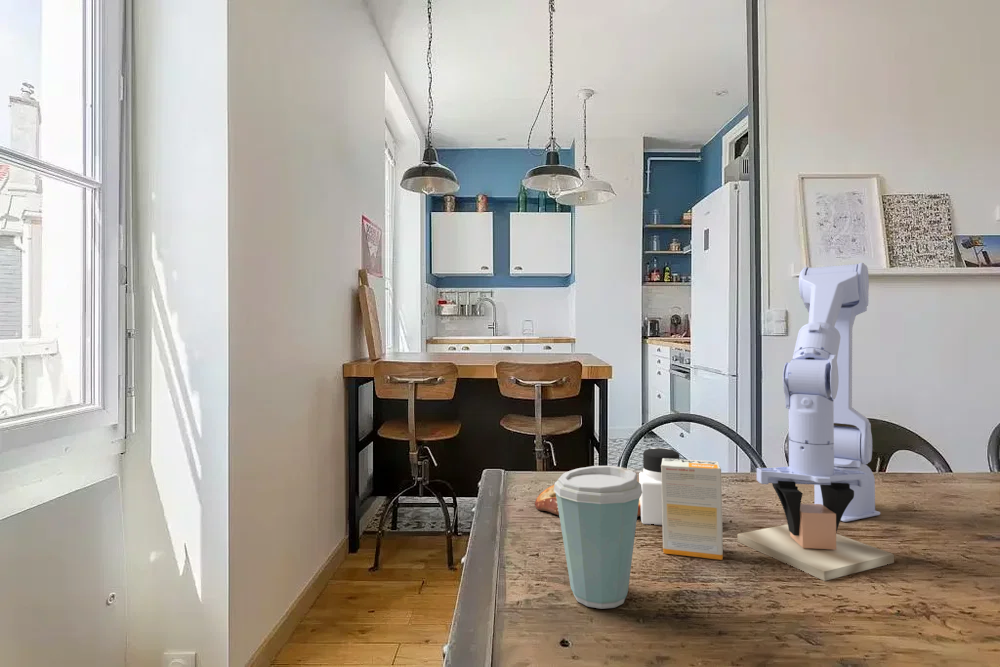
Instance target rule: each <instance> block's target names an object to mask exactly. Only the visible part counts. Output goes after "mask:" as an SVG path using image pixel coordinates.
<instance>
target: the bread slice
mask: <svg viewBox="0 0 1000 667" xmlns="http://www.w3.org/2000/svg"><path fill="white" fill-rule="evenodd" d="M553 490H554V484H552V485H550V486H549V487H547V488H545V489H544V490H543V491H542V492H541V493H539V495H538V496H537V497H536V499H535V502H534V507H535V508H536V509H537V510H538V511H545V512H548V513H551V514H554V515H557V516H559V511H558V505H557V498H556V493H555V492H554V491H553ZM638 517H641V506H640V500H639V505H638V513H637V518H638Z"/></svg>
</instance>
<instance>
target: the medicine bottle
mask: <svg viewBox="0 0 1000 667" xmlns="http://www.w3.org/2000/svg"><path fill="white" fill-rule="evenodd" d="M642 453H643V454H642V455H643V458H642V459H643V460H642V463H643V464H642V465H643V469H642V470H643V471H640V472H639V473H638V482H639V483H640V484H641V488H642V494H641V497H640V498H639V500H640V506H641V516H640V520H641V523H642V524H643V525H651V524H654V525H655V526H662V478H661V464H662V459H663V458H668V459H680V454H679V452H678V451H676V450H674V449H673V448H668V447H667V448H666V447H650V448H648V449H645V450H644V451H643V452H642ZM654 525H653V526H654Z"/></svg>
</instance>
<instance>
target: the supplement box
mask: <svg viewBox="0 0 1000 667" xmlns="http://www.w3.org/2000/svg"><path fill="white" fill-rule="evenodd" d="M661 478H662V525H661V526H662V551H663V554H666V555H677V556H684V557H686V556H687V557H695V558H702V559H710V560H711V559H712V560H717V561H718V560H719V561H722V560H723V558H724V552H723V551H724V550H723V549H724V548H723V545H724V543H723V542H724V540H723V536H724V535H723V499H722V498H723V497H722V496H723V494H722V492H723V491H722V487H723V486H722V468H721V466H720V463H719V461H715V460H714V461H713V460H701V459H700V460H699V459H682V458H679V459H668V458H663V459H662V464H661Z"/></svg>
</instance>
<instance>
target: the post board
mask: <svg viewBox="0 0 1000 667" xmlns="http://www.w3.org/2000/svg"><path fill="white" fill-rule="evenodd" d="M737 543H740V544H741V545H744V546H745V547H748V548H750V549H753V550H755V551H758V552H759V553H761V554H764V555H766V556H769V557H771V558H772V557H773V558H772V559H775V560H777V561H779V562H782V563H783V564H786V563H787V564H786V565H789V566H790V565H791V567H792V566H793V568H795V569H797V570H799V569H800V571H801V570H802V572H803V571H804V573H806V574H808V573H809V574H808V575H811V576H813V577H815V578H817V579H820V580H821V581H823V582H824V581H829V580H833V579H837V578H841V577H845V576H849V575H853V574H857V573H860V572H864V571H868V570H871V569H875V568H879V567H882V566H887V564H888V565H890V564H894V563H895V555H894V553H891V552H888V551H885V550H884V549H881V548H877V547H875V546H872V545H870V544H867V543H863V542H861V541H857V540H856V539H852V538H850V537H847V536H844V535H841V534H838V533H836V550H835V549H815V548H803V547H801V546H800V545H799V544H798V543H797V542H796V541H795V540H794V539H793V538H792V537H791V536H790V531H789V528H788V523H786V524H781V525H777V526H773V527H766V528H761V529H756V530H750V531H746V532H741V533H737Z"/></svg>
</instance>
